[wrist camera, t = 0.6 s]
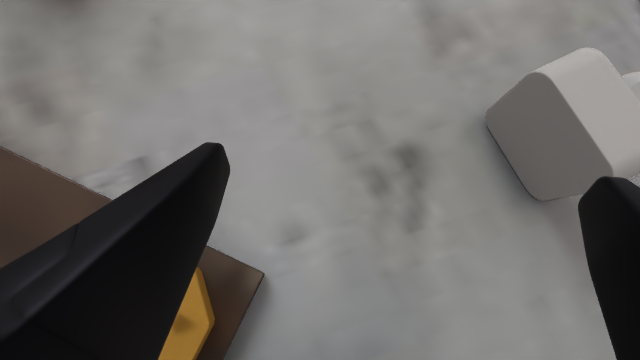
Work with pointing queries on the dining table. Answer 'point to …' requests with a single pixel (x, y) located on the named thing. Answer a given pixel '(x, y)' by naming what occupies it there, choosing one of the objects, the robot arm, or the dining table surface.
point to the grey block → (570, 125)
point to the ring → (190, 323)
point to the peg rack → (79, 202)
